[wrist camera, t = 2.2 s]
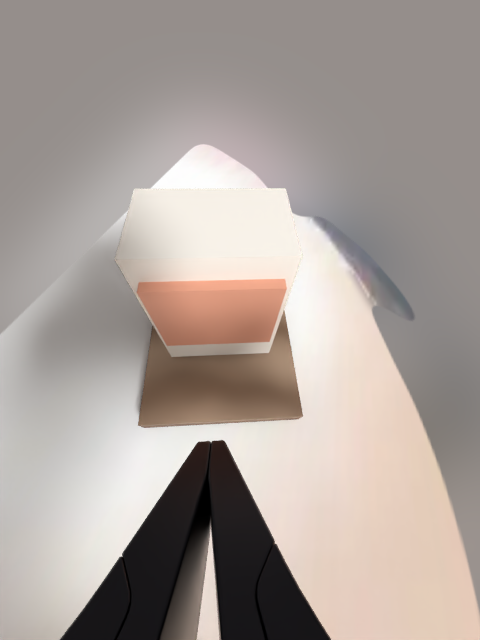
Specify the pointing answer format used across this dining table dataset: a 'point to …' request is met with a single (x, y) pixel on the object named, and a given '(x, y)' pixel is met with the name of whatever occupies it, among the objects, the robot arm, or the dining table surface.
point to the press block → (211, 266)
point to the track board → (220, 386)
